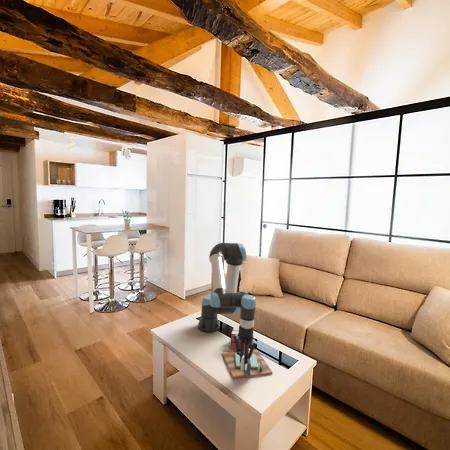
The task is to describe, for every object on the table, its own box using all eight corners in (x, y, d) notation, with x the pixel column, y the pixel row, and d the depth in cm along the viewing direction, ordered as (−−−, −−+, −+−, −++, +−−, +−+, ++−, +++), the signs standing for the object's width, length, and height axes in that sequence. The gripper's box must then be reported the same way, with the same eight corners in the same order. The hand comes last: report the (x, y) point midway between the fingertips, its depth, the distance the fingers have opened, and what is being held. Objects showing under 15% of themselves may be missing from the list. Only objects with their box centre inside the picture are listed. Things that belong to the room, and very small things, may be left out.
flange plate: (234, 354, 152) (235, 343, 151) (255, 355, 152) (256, 344, 151) (237, 376, 132) (238, 363, 132) (260, 377, 132) (261, 364, 132)
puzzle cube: (245, 352, 158) (247, 336, 157) (229, 349, 160) (230, 333, 159) (247, 343, 168) (248, 328, 167) (232, 341, 170) (233, 326, 169)
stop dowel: (259, 369, 140) (259, 361, 139) (261, 369, 140) (262, 360, 140) (260, 371, 138) (261, 362, 138) (263, 370, 139) (263, 362, 138)
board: (222, 354, 153) (222, 343, 153) (256, 351, 160) (257, 339, 159) (233, 379, 132) (234, 366, 132) (272, 374, 138) (273, 361, 138)
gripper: (232, 324, 133) (228, 368, 135) (255, 332, 127) (251, 377, 129) (238, 319, 139) (235, 360, 142) (260, 326, 133) (257, 369, 135)
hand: (242, 368), depth 135 cm, fingers closed
